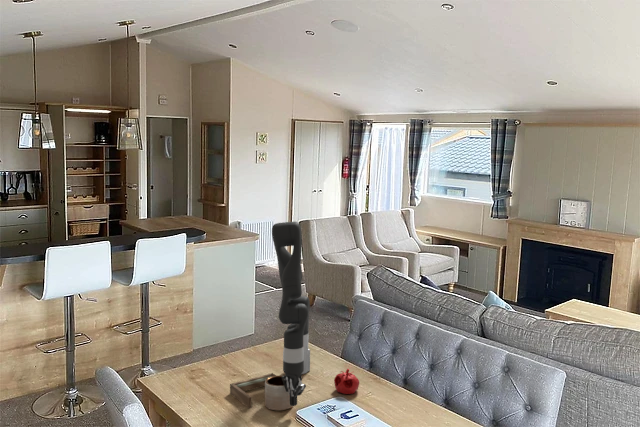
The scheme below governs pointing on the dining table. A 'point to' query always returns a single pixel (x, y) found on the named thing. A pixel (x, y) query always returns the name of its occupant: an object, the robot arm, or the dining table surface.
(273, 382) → the planter
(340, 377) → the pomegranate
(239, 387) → the bay
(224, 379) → the dining table surface
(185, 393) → the dining table surface
